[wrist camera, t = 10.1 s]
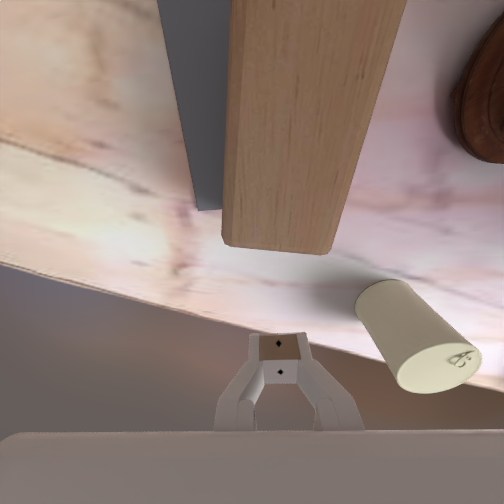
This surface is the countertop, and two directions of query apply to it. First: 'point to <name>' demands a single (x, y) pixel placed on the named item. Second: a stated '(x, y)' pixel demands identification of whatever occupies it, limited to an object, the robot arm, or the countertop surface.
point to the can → (415, 339)
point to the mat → (200, 87)
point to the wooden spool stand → (483, 98)
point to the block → (299, 115)
